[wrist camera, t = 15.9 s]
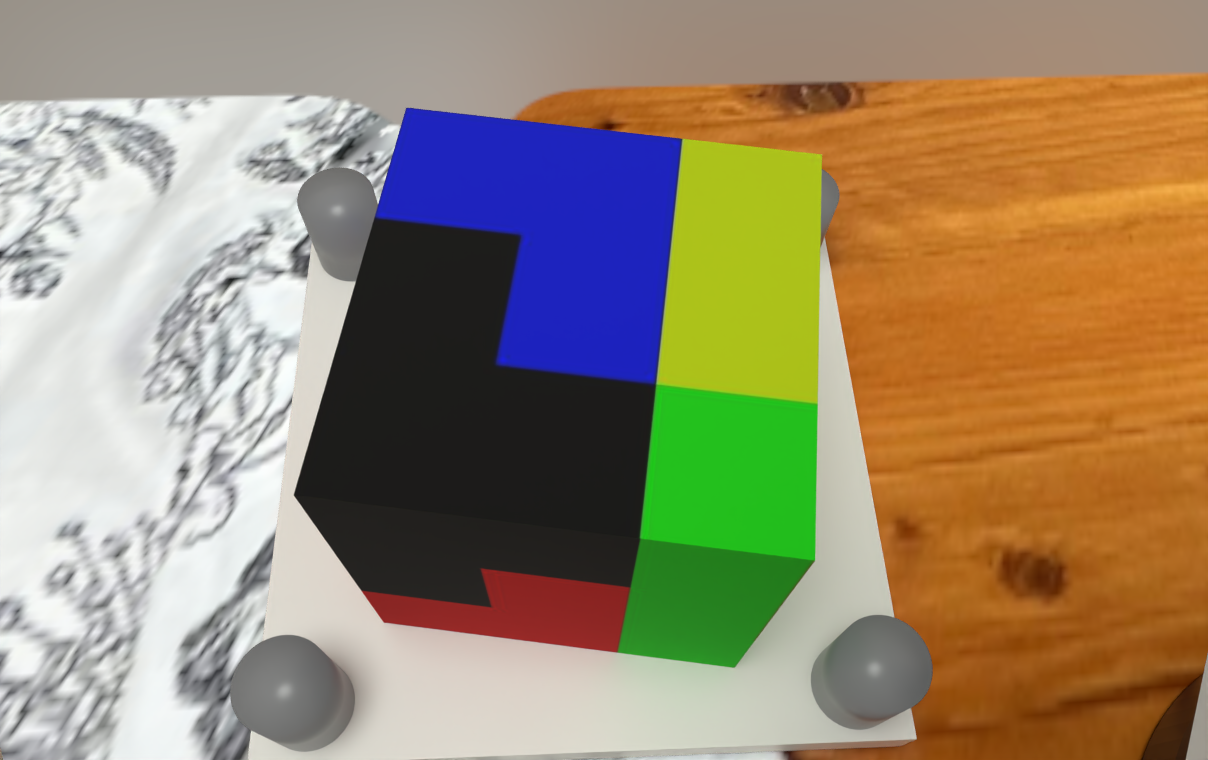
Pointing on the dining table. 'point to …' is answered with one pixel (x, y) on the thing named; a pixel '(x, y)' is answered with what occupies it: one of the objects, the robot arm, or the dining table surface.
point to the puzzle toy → (578, 389)
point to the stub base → (553, 672)
